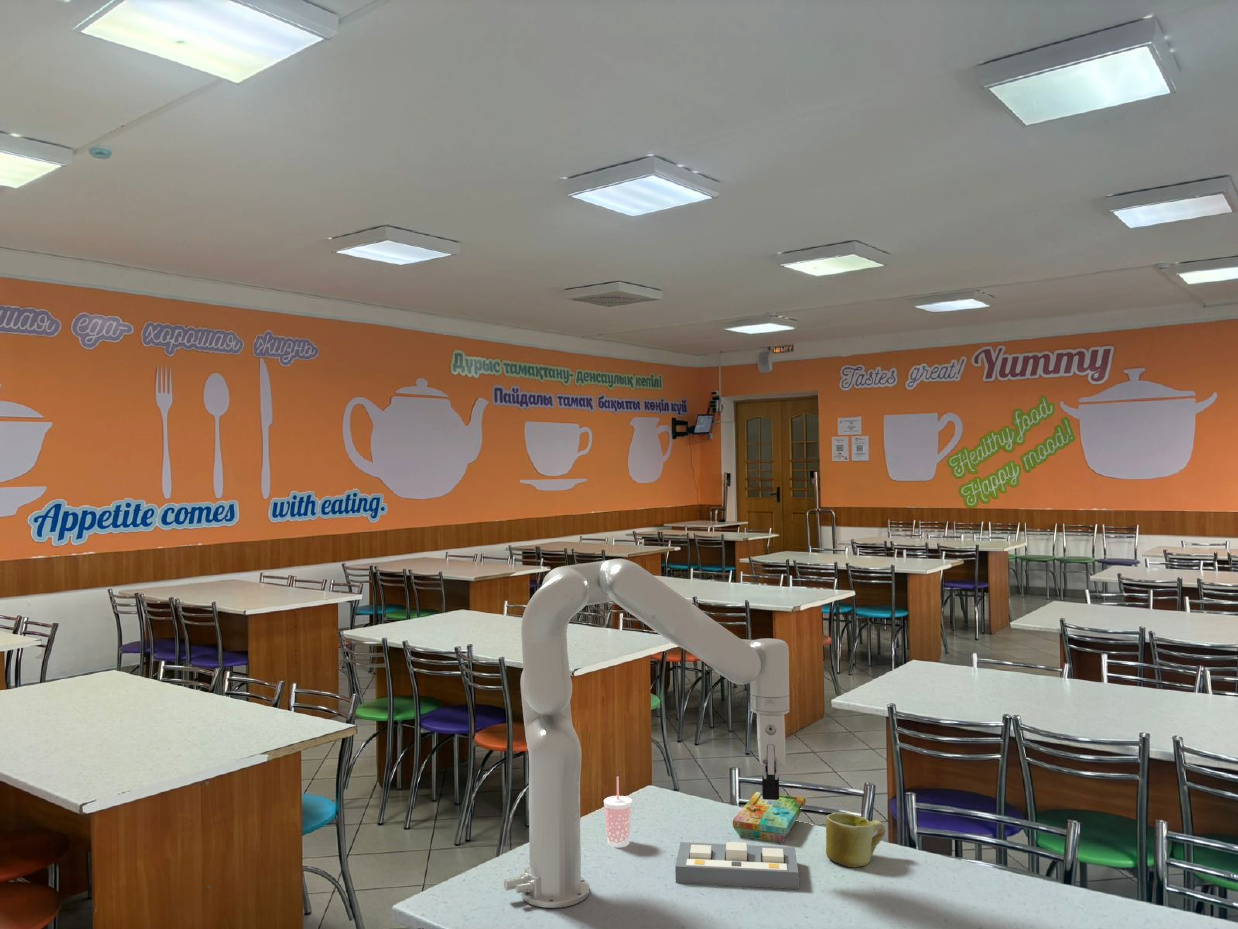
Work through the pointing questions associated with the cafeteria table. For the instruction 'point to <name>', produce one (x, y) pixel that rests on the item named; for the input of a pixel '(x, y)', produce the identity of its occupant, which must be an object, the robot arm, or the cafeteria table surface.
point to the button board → (737, 868)
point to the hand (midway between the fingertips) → (770, 798)
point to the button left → (701, 852)
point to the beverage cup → (618, 819)
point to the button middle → (736, 851)
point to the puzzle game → (768, 817)
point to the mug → (852, 838)
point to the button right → (772, 855)
